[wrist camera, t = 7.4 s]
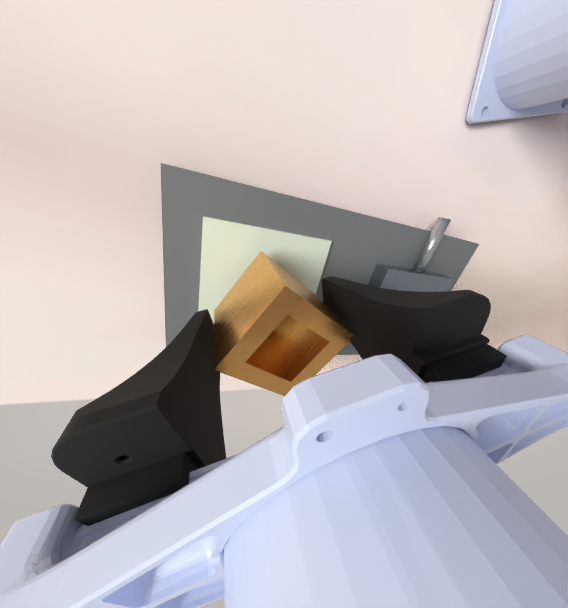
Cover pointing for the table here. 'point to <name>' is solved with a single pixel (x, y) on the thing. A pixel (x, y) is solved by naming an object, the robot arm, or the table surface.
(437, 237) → the vise
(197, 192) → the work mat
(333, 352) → the collar
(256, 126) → the table surface
